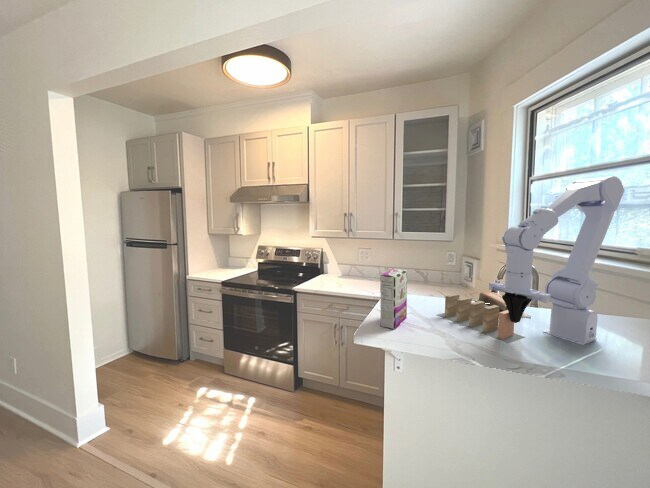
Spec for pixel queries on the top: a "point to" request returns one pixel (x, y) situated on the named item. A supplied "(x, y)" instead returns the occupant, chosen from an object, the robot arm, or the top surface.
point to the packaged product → (496, 302)
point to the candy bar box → (393, 298)
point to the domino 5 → (505, 325)
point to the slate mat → (480, 329)
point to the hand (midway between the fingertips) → (515, 321)
